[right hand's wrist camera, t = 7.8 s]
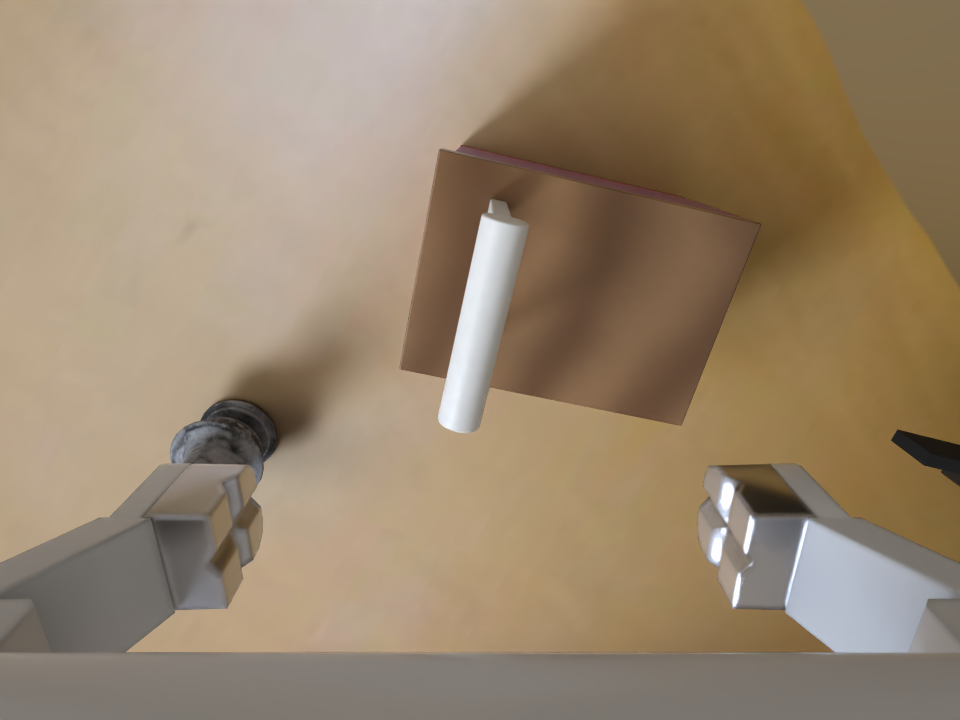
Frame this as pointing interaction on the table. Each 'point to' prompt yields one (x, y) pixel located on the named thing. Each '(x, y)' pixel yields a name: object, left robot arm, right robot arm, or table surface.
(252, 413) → the pewter chess piece
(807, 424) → the table surface
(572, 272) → the lid
